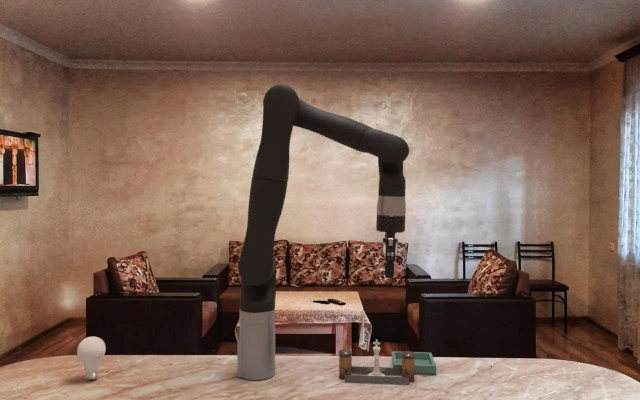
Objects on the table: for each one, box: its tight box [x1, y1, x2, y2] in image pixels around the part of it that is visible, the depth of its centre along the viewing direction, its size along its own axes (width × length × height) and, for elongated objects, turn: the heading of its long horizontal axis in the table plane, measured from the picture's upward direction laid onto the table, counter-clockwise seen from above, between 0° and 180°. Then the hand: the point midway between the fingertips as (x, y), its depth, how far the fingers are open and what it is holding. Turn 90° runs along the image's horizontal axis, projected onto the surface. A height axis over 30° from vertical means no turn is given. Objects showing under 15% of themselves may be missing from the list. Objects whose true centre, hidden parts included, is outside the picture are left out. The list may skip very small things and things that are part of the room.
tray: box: [391, 351, 437, 376], centre depth 142 cm, size 11×11×2 cm
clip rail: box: [338, 348, 416, 386], centre depth 133 cm, size 19×7×7 cm, turn 85°
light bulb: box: [76, 336, 107, 381], centre depth 132 cm, size 7×7×11 cm
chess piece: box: [366, 339, 386, 376], centre depth 133 cm, size 5×5×10 cm
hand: (388, 275), depth 137 cm, fingers open, 8 cm apart
